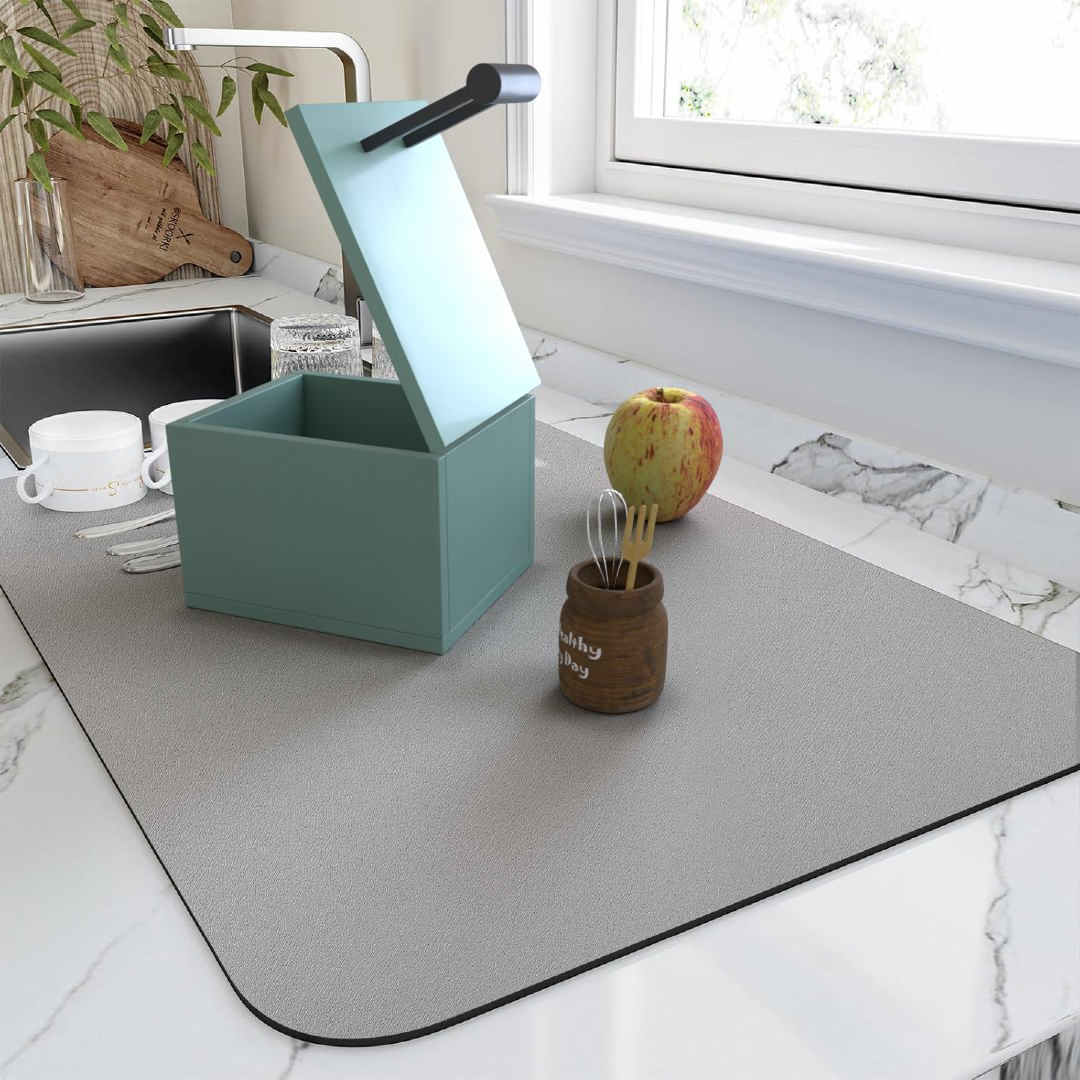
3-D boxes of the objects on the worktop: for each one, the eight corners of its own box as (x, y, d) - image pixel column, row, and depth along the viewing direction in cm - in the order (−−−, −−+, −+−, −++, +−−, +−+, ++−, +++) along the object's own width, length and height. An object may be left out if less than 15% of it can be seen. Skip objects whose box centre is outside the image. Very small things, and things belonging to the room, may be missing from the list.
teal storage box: (185, 606, 73) (164, 424, 69) (309, 526, 86) (298, 369, 82) (442, 655, 68) (438, 459, 63) (534, 562, 81) (535, 394, 76)
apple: (735, 530, 87) (745, 400, 83) (620, 539, 85) (625, 407, 81) (693, 490, 95) (700, 370, 91) (587, 498, 93) (590, 376, 89)
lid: (282, 112, 59) (442, 23, 55) (413, 106, 72) (551, 33, 68) (430, 452, 63) (590, 395, 59) (529, 388, 76) (666, 338, 72)
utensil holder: (639, 657, 68) (648, 462, 63) (685, 710, 62) (698, 499, 57) (543, 672, 66) (545, 471, 61) (581, 727, 60) (587, 511, 56)
